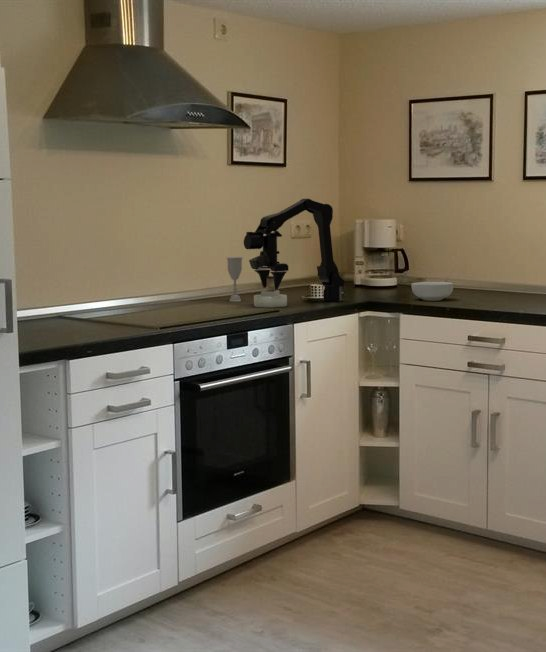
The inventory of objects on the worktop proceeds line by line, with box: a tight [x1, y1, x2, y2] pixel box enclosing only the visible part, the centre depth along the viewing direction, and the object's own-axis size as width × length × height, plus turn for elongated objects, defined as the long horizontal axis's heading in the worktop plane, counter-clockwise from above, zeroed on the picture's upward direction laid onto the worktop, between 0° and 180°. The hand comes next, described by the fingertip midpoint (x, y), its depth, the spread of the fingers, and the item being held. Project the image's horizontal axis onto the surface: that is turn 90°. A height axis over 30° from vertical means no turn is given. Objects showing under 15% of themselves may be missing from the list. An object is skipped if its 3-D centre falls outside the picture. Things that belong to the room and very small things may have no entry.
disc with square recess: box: [253, 289, 288, 308], centre depth 378 cm, size 13×13×6 cm
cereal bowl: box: [411, 281, 454, 302], centre depth 394 cm, size 17×17×7 cm
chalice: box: [226, 256, 244, 302], centre depth 398 cm, size 7×7×18 cm
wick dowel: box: [266, 275, 275, 292], centre depth 377 cm, size 3×3×8 cm
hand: (270, 288), depth 377 cm, fingers open, 9 cm apart
